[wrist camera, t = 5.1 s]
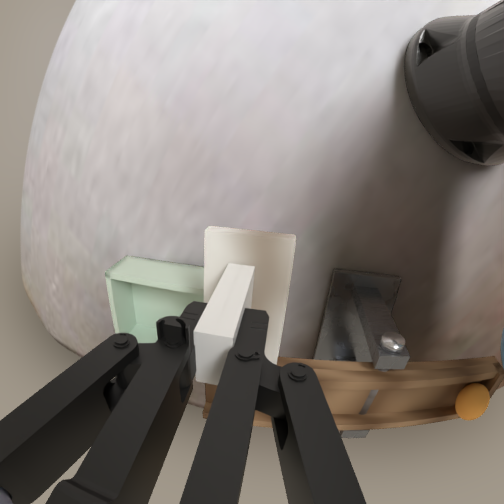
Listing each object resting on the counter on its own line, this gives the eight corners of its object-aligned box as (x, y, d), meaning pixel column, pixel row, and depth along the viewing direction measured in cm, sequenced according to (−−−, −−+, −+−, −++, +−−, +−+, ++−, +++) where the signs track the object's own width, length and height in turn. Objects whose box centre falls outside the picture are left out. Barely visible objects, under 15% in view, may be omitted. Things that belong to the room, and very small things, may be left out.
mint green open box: (135, 324, 33) (118, 345, 29) (126, 255, 30) (104, 272, 26) (222, 342, 32) (212, 368, 28) (225, 269, 29) (213, 290, 25)
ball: (450, 387, 19) (463, 414, 15) (481, 369, 18) (497, 394, 15) (450, 406, 20) (461, 432, 16) (479, 390, 19) (492, 414, 15)
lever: (208, 400, 23) (201, 425, 20) (209, 225, 17) (196, 240, 14) (464, 402, 21) (473, 420, 18) (531, 267, 15) (550, 281, 13)
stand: (310, 364, 32) (311, 443, 21) (333, 268, 27) (352, 339, 17) (366, 368, 31) (382, 443, 21) (399, 276, 27) (442, 343, 16)
